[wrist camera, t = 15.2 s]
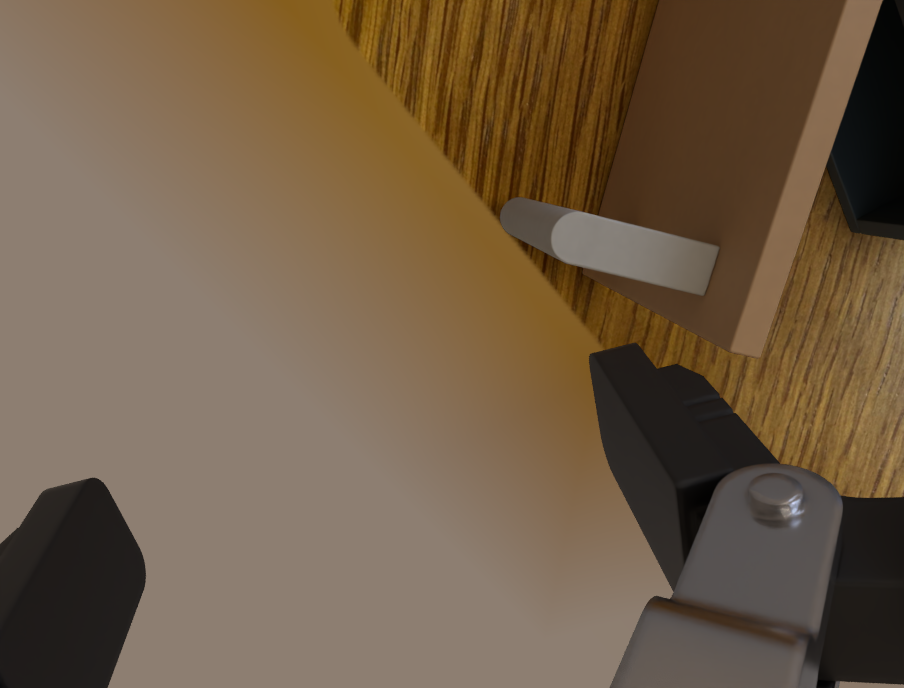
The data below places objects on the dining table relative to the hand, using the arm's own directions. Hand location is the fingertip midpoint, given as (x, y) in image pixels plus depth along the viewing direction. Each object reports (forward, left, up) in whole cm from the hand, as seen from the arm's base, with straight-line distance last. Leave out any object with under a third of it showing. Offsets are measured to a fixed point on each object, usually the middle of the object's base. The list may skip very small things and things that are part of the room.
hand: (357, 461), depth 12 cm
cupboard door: (+7, +11, -23) cm, 27 cm away
